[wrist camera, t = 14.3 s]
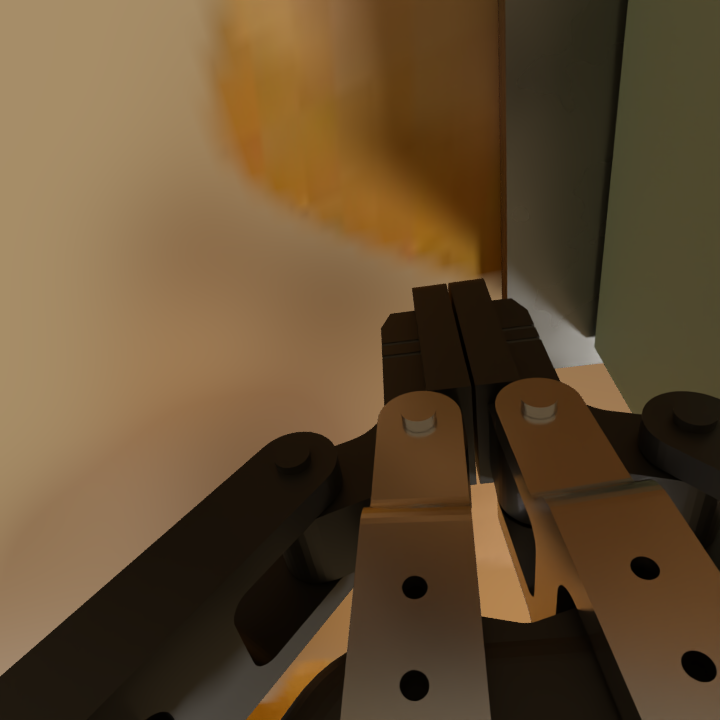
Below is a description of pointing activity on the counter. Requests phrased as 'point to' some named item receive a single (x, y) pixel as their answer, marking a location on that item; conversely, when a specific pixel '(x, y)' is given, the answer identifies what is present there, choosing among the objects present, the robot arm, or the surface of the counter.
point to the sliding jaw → (664, 207)
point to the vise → (558, 162)
